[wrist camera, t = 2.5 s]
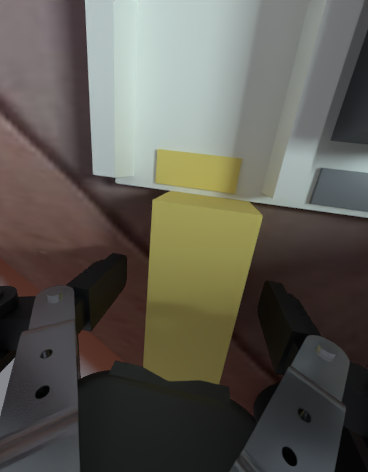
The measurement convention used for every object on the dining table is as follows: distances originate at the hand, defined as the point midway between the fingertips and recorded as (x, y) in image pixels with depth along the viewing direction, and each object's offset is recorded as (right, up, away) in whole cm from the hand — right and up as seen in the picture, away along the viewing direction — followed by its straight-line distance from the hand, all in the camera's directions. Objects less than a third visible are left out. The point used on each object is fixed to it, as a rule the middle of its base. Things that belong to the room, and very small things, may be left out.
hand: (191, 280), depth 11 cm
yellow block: (+1, 0, +2) cm, 2 cm away
